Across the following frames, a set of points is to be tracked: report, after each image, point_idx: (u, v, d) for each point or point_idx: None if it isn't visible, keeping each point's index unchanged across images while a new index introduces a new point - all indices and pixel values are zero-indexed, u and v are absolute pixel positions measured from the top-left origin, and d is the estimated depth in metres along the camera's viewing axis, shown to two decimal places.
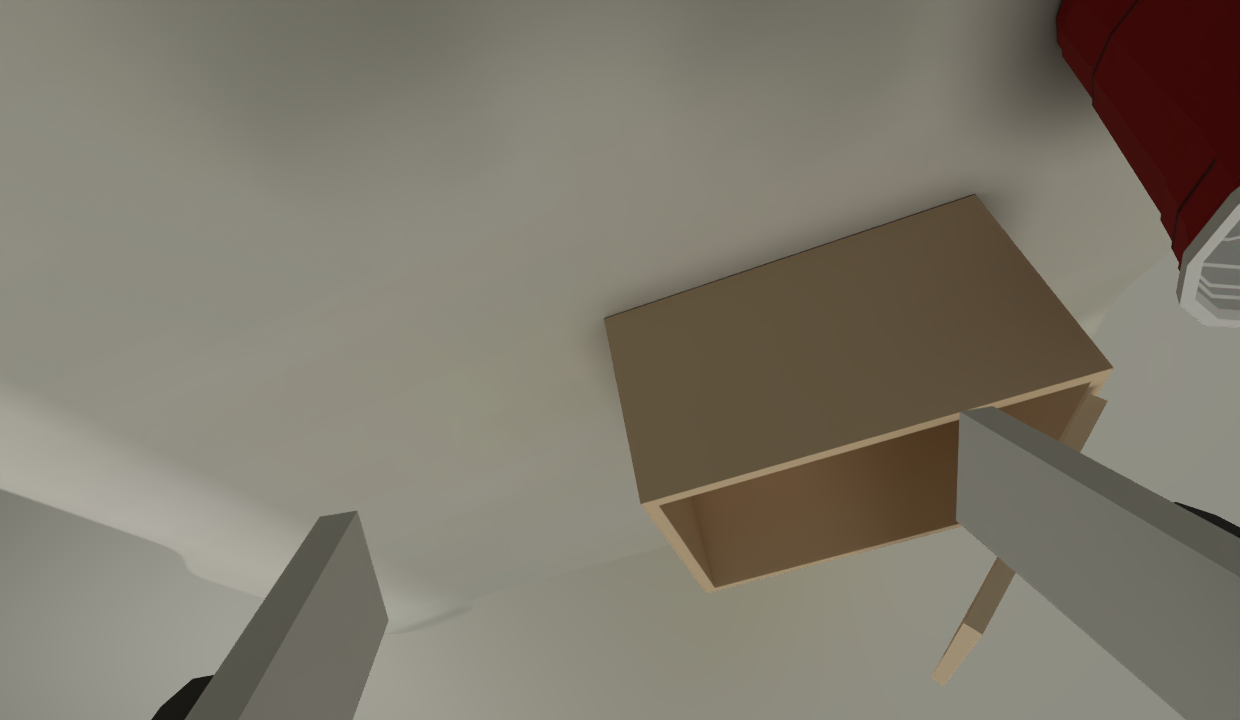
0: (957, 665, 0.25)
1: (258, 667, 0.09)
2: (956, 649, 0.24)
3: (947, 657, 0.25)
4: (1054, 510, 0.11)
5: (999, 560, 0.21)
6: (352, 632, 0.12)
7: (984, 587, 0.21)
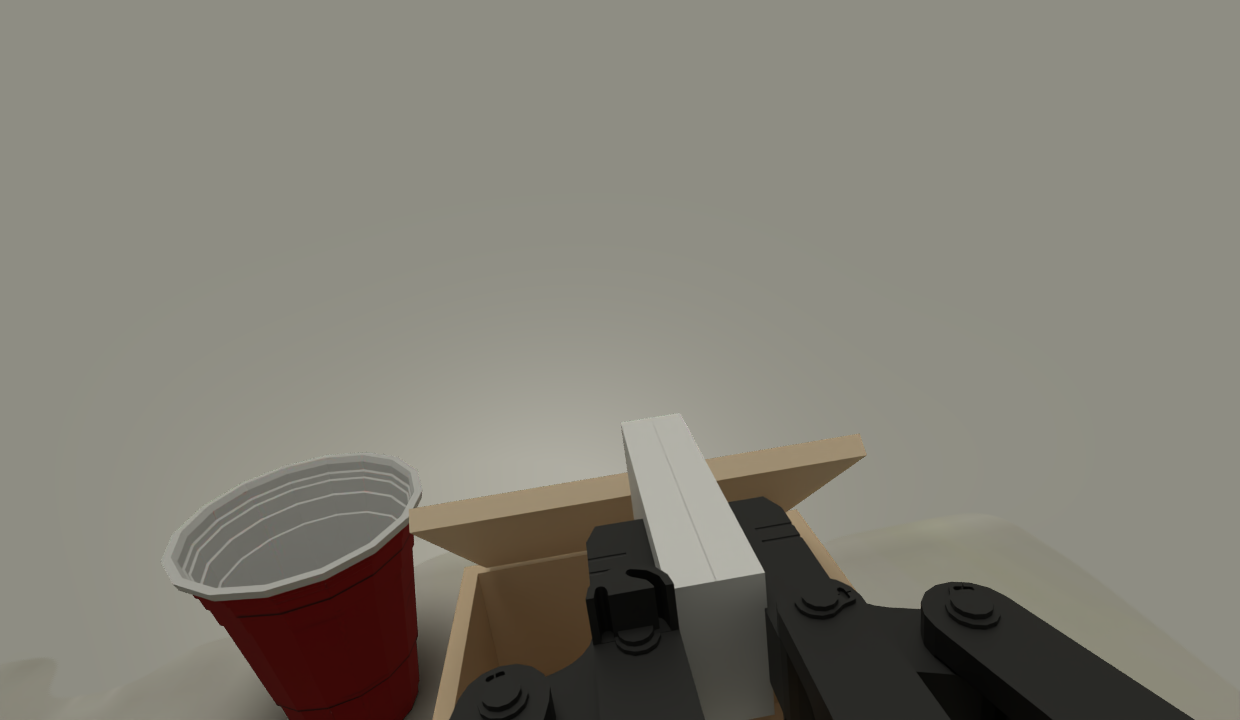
0: None
1: (677, 505, 0.12)
2: (558, 498, 0.16)
3: None
4: None
5: (435, 543, 0.18)
6: None
7: None
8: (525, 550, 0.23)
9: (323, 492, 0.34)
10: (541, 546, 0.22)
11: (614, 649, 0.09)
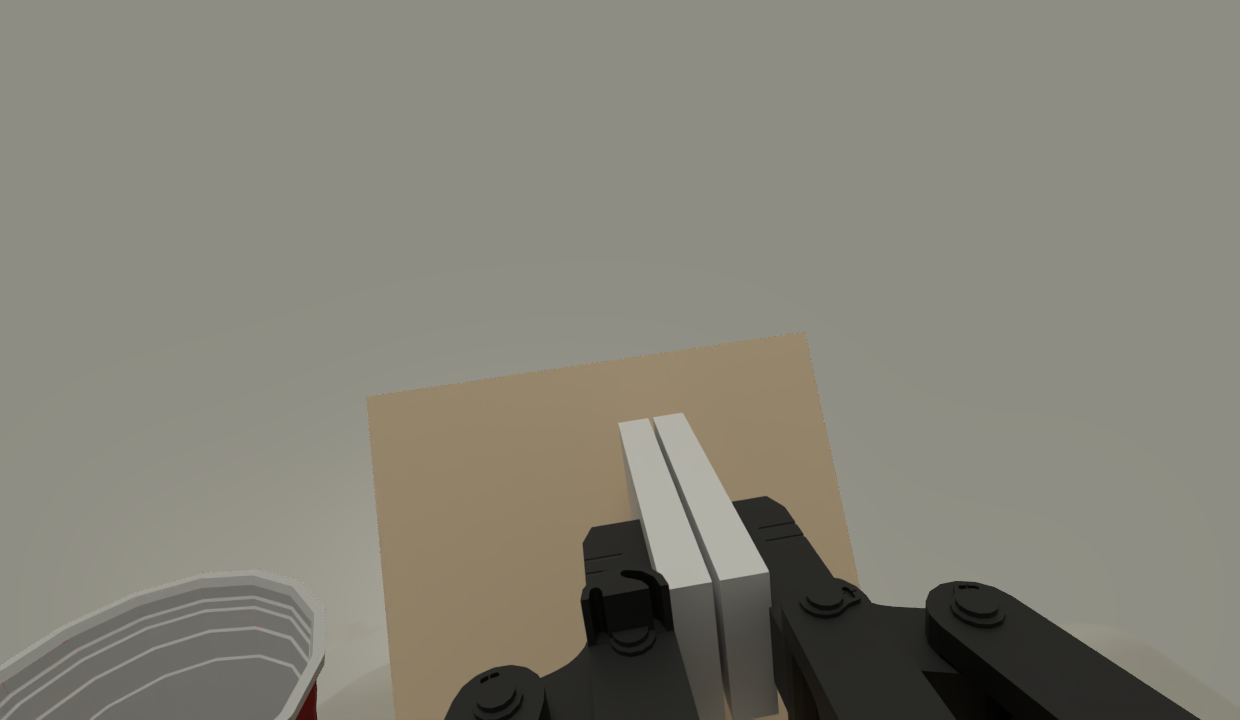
0: None
1: (673, 506, 0.12)
2: None
3: (588, 364, 0.17)
4: None
5: (375, 493, 0.16)
6: None
7: (371, 450, 0.17)
8: (472, 658, 0.16)
9: (195, 629, 0.23)
10: (495, 638, 0.16)
11: (609, 650, 0.09)
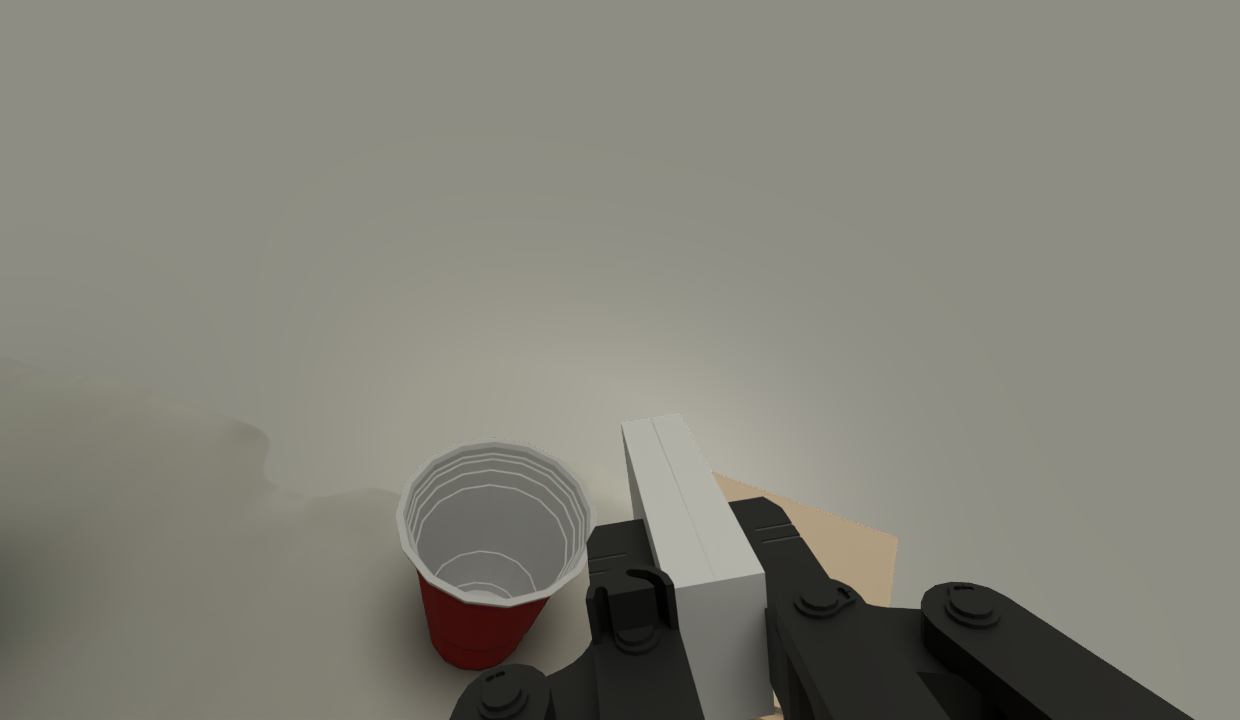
0: None
1: (677, 505, 0.12)
2: None
3: (789, 499, 0.35)
4: None
5: None
6: None
7: None
8: None
9: (513, 470, 0.39)
10: None
11: (614, 649, 0.09)
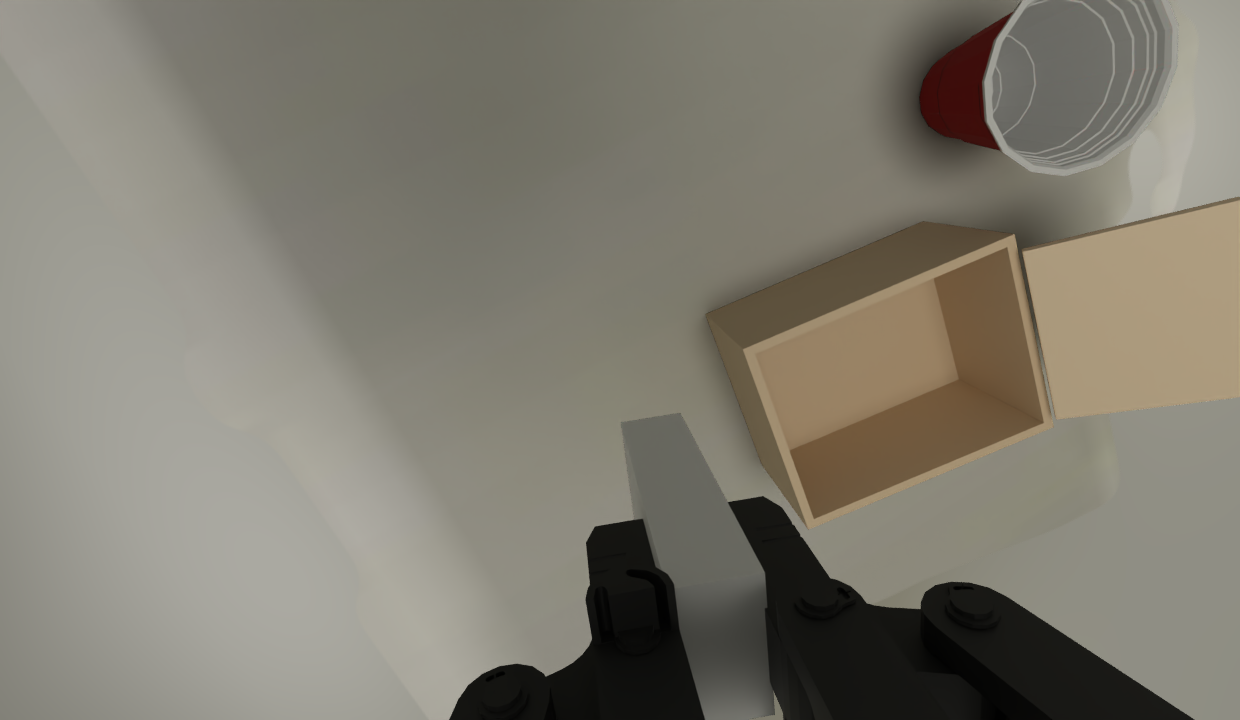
0: None
1: (677, 505, 0.12)
2: None
3: None
4: None
5: (1181, 213, 0.35)
6: None
7: (1207, 207, 0.34)
8: (1089, 268, 0.38)
9: (1134, 30, 0.36)
10: (1099, 276, 0.38)
11: (614, 649, 0.09)
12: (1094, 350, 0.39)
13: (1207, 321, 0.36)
